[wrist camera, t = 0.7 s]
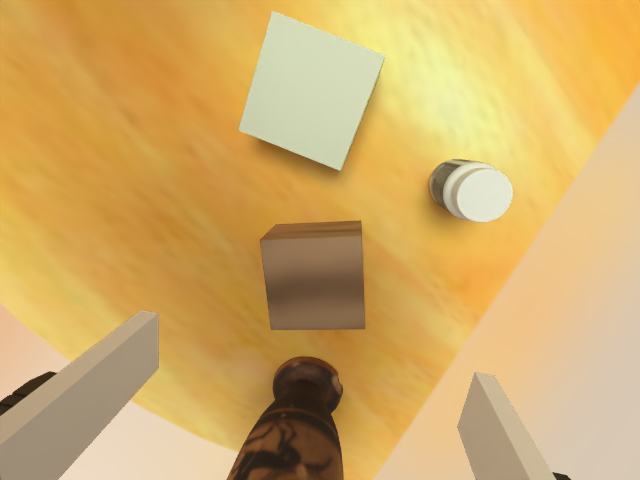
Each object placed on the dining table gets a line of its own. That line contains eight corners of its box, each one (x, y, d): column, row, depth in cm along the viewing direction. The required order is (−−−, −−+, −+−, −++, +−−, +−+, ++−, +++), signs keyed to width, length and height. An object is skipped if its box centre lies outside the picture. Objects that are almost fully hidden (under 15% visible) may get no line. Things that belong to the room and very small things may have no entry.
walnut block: (275, 224, 36) (259, 240, 30) (361, 220, 35) (361, 236, 29) (284, 301, 38) (271, 329, 32) (364, 300, 37) (365, 329, 31)
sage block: (288, 35, 31) (272, 10, 25) (380, 71, 31) (385, 55, 25) (258, 132, 33) (238, 130, 28) (343, 165, 33) (340, 170, 28)
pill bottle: (437, 214, 34) (462, 237, 26) (421, 171, 33) (441, 180, 25) (485, 196, 33) (527, 213, 25) (470, 150, 32) (508, 152, 24)
